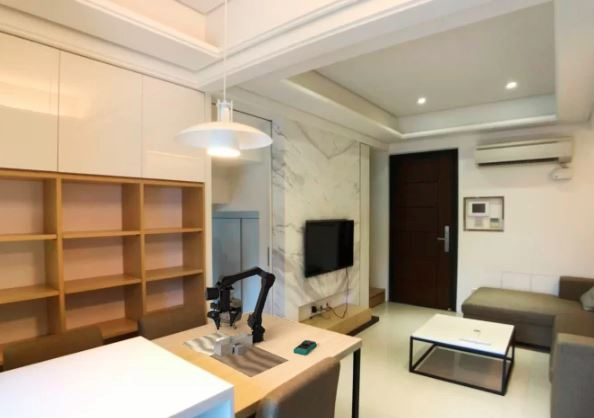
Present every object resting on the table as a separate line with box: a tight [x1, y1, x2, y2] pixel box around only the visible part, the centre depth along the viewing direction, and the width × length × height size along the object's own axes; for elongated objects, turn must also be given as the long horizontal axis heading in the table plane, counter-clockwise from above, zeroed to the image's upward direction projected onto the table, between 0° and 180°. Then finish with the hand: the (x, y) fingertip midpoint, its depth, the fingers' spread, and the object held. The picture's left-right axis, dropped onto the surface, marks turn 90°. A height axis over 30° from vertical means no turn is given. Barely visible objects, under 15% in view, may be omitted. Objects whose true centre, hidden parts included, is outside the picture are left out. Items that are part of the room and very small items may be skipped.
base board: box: [182, 331, 290, 378], centre depth 180 cm, size 24×57×1 cm, turn 48°
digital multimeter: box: [293, 339, 317, 356], centre depth 186 cm, size 7×15×3 cm, turn 155°
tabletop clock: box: [215, 289, 243, 330], centre depth 220 cm, size 14×9×25 cm, turn 68°
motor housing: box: [214, 332, 253, 359], centre depth 180 cm, size 20×6×6 cm, turn 138°
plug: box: [217, 337, 244, 356], centre depth 182 cm, size 4×19×4 cm, turn 48°
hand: (224, 327), depth 185 cm, fingers open, 8 cm apart
